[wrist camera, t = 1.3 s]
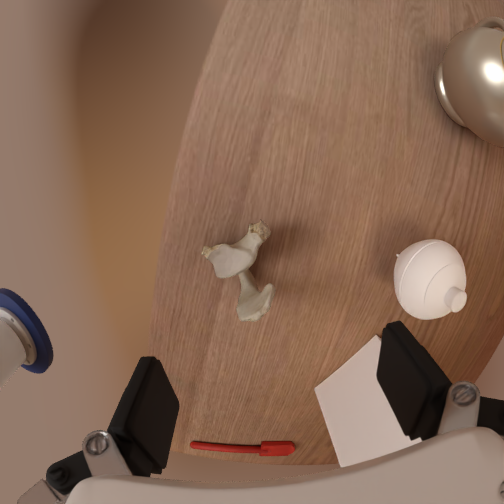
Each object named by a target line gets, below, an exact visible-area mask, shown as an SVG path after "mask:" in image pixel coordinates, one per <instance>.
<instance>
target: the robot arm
mask: <svg viewBox="0 0 504 504" xmlns="http://www.w3.org/2000/svg"><path fill="white" fill-rule="evenodd" d="M36 358H37V351H36V347H35V344H34V341H33V339H32V337H31V335H30V333H29V331H28V330H27V328H26V327H25V325H24V324H23V323H22V322H21V320H20V319H19V318H18V317H17V316H16V315H15V314H14V313H13V312H11V311H10V310H8V309H6V308H4V307H0V390H1V389H2V388H3V386H4V385H5V384H6V383H7V381H8V380H9V379H10V378H11V376H12V375H13V374H14V373H15V372H16V370H17V369H18V368H19V367H20V366H21V365H22V364H25V365H32V364H33V363H34V362H35V360H36ZM376 377H377V381H378V383H379V385H380V386H381V388H382V390H383V392H384V394H385V396H386V398H387V400H388V402H389V404H390V406H391V408H392V410H393V412H394V414H395V416H396V419H397V421H398V423H399V425H400V427H401V429H402V431H403V433H404V435H405V436H409V438H410V440H411V441H412V440H415V439H417V438H421V440H422V442H419V443H417V444H414V445H412V446H409V447H406V448H404V449H401V450H398V451H395V452H392V453H389V454H386V455H383V456H380V457H377V458H374V459H371V460H368V461H364V462H361V463H357V464H353V465H350V466H346V467H341V468H337V469H333V470H328V471H323V472H318V473H313V474H307V475H301V476H295V477H287V478H279V479H270V480H258V481H239V482H201V481H183V480H170V479H159V478H151V477H150V475H151V473H154V474H161V473H162V469H164V468H165V467H166V465H167V460H168V455H169V451H170V447H171V442H172V438H173V433H174V429H175V424H176V420H177V416H178V411H179V401H178V398H177V396H176V394H175V392H174V390H173V388H172V386H171V384H170V382H169V380H168V377H167V375H166V373H165V371H164V368H163V366H162V364H161V362H160V360H157V359H156V358H155V357H153V356H152V357H141V358H140V360H139V362H138V364H137V367H136V368H135V371H134V373H133V375H132V377H131V379H130V381H129V384H128V386H127V387H126V389H125V391H124V393H123V395H122V397H121V400H120V402H119V404H118V406H117V409H116V411H115V413H114V415H113V418H112V420H111V422H110V425H109V427H108V429H107V432H106V431H103V430H97V431H93V432H91V433H90V434H88V435H87V436H86V437H85V438H84V441H83V443H82V449H83V450H82V451H80V452H78V453H76V454H73V455H71V456H69V457H67V458H65V459H63V460H60V461H58V462H56V463H54V464H52V465H51V466H50V467H49V468H48V470H47V473H46V480H43V479H41V480H40V481H39V482H38V483H37V484H35V485H34V486H33V487H32V488H30V489H29V490H28V491H27V492H25V493H24V494H23V495H22V496H21V497H20V498H19V499H18V501H17V504H504V401H503V400H497V399H491V398H487V397H482V396H480V391H479V389H478V387H477V386H476V385H475V384H473V383H471V382H468V381H459V382H456V383H454V384H452V383H451V382H450V380H449V379H448V378H447V376H446V375H445V374H444V372H443V371H442V370H441V368H440V367H439V366H438V364H437V363H436V362H435V361H434V359H433V358H432V357H431V355H430V354H429V353H428V352H427V350H426V349H425V348H424V347H423V346H422V345H420V344H419V342H418V341H417V340H416V339H415V337H414V336H413V335H412V334H411V333H410V331H409V330H408V329H407V328H406V327H405V325H404V324H403V323H402V322H401V321H396V322H392V323H388V324H387V325H386V328H384V329H383V333H382V340H381V347H380V354H379V361H378V367H377V372H376Z"/></svg>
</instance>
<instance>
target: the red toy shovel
mask: <svg viewBox="0 0 504 504" xmlns="http://www.w3.org/2000/svg"><path fill="white" fill-rule="evenodd" d="M190 447H191V448H193V449H201V450H210V451H221V452H236V453H259V456H288V455H289V454H291V453H293V452H294V451H295V445H294V443H292V442H291V441H262V443H261V446H237V445H222V444H211V443H201V442H191V443H190Z"/></svg>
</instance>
